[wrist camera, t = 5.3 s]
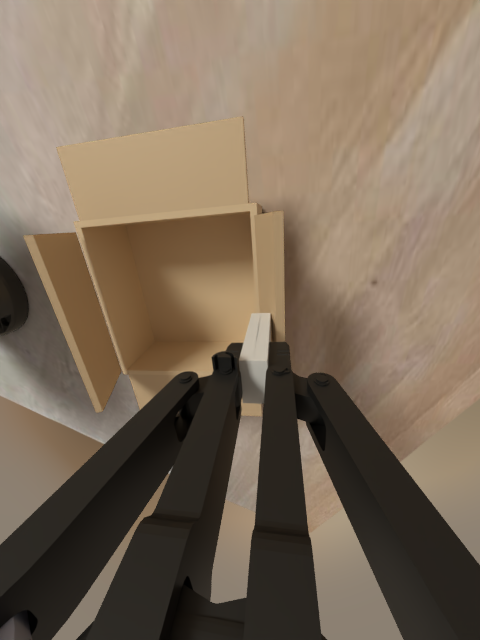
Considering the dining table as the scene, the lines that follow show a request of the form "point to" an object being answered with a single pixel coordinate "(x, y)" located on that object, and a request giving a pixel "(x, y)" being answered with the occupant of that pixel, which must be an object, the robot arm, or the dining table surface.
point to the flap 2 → (271, 269)
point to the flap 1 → (77, 311)
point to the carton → (168, 246)
